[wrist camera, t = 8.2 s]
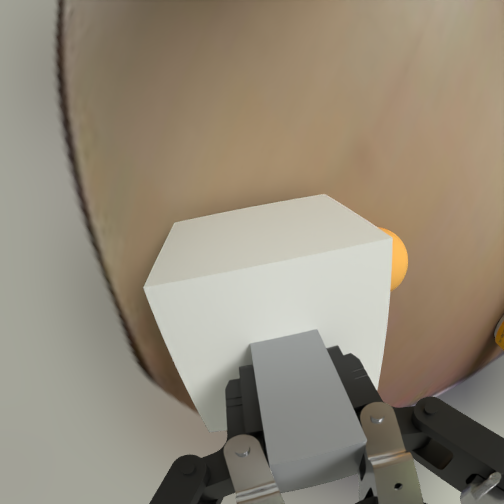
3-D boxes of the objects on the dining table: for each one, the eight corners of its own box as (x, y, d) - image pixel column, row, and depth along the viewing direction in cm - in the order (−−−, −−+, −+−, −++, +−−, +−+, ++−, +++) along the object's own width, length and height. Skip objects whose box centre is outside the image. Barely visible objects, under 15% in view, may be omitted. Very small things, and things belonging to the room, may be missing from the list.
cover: (174, 222, 19) (95, 409, 5) (324, 194, 19) (492, 314, 6) (210, 342, 23) (211, 521, 9) (332, 317, 23) (414, 471, 10)
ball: (330, 225, 22) (358, 250, 17) (386, 214, 22) (422, 234, 17) (335, 283, 24) (359, 316, 19) (387, 269, 24) (417, 297, 19)
